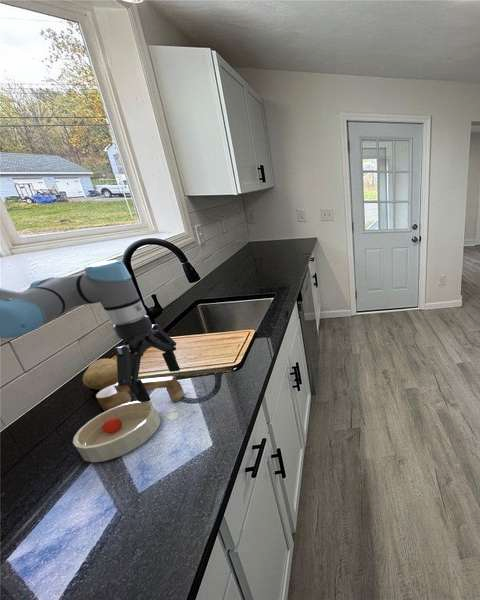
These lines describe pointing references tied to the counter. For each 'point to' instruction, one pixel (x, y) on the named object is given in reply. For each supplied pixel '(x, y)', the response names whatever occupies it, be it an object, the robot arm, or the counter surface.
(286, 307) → the counter surface
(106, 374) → the potato
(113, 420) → the tomato
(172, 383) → the ladle
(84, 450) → the bowl
